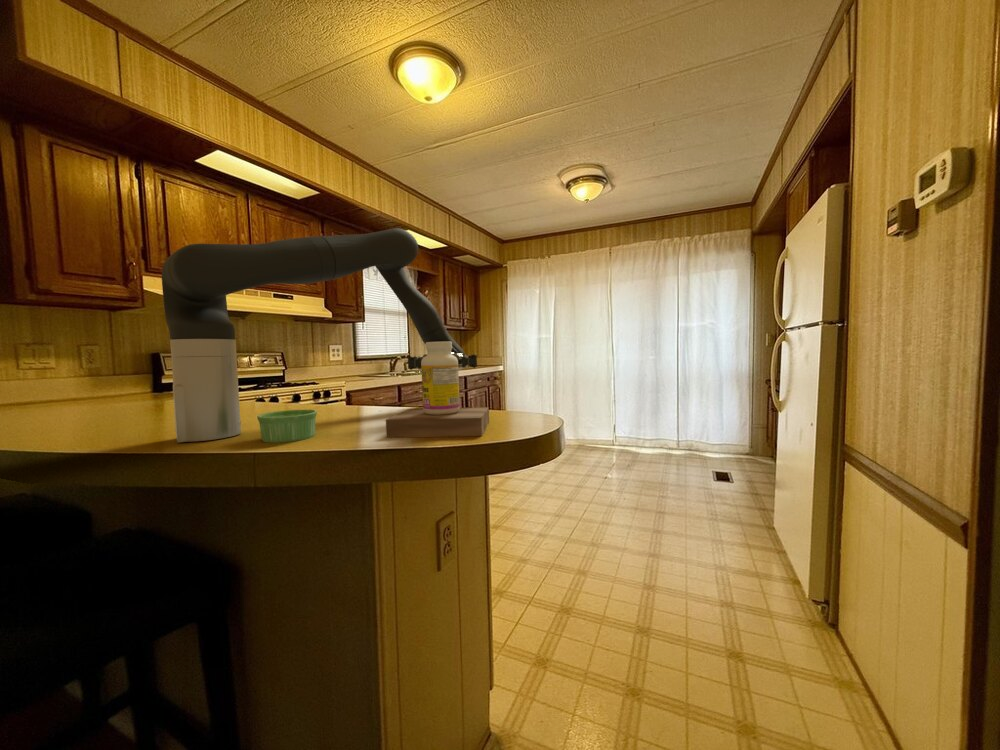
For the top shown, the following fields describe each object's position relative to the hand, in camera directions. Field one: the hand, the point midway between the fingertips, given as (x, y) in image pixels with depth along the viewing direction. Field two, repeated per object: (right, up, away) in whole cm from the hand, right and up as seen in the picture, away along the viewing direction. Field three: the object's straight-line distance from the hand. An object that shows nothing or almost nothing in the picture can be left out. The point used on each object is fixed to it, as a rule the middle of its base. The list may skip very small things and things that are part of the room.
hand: (441, 362), depth 76 cm
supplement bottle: (+1, -10, -5) cm, 11 cm away
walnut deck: (+1, -12, -5) cm, 13 cm away
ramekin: (-25, -14, -9) cm, 30 cm away
